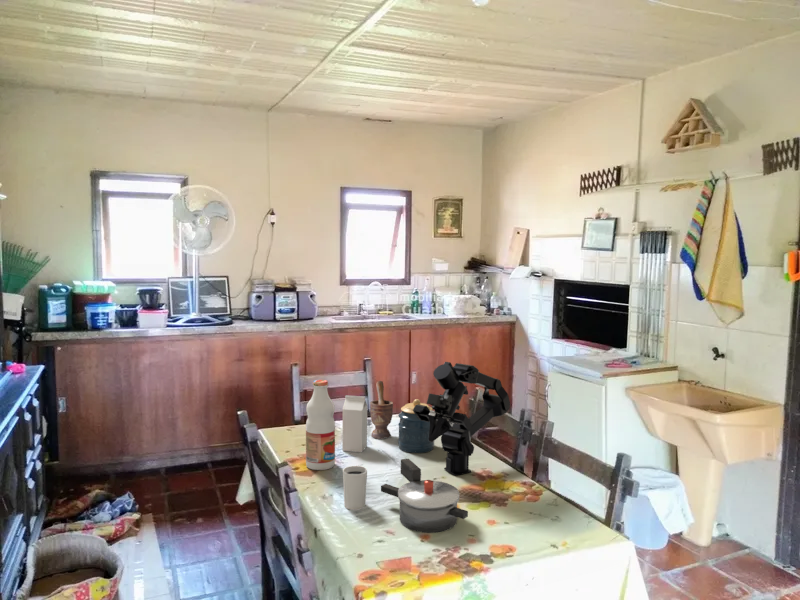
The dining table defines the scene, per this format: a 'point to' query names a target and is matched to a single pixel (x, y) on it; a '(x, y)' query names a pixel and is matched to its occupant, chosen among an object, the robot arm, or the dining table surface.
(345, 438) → the milk carton
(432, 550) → the dining table surface
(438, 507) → the lid
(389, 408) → the mortar and pestle
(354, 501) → the white cup
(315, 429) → the fruit juice
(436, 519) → the pot
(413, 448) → the canister
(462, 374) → the robot arm
